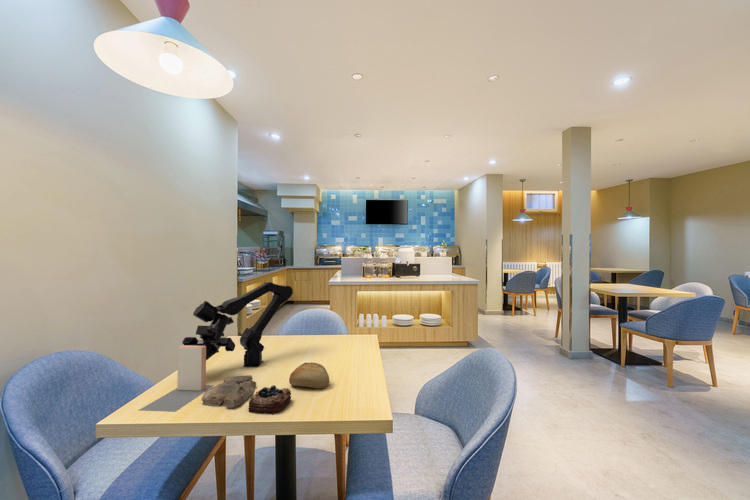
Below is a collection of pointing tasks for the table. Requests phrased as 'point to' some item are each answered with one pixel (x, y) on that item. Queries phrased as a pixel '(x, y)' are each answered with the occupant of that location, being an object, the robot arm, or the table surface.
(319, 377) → the bread roll
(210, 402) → the flat grey rock
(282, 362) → the table surface
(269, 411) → the pastry
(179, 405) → the mat
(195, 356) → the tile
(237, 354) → the table surface
